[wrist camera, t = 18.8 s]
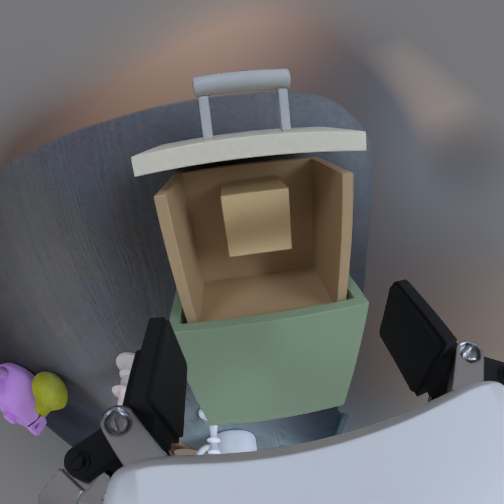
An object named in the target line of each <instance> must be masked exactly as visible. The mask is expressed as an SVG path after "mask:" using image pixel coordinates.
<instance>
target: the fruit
mask: <svg viewBox="0 0 504 504" xmlns="http://www.w3.org/2000/svg"><path fill="white" fill-rule="evenodd" d="M31 386H32V392H33V396H34V398H35V411H36V413H37V414H38V415H39V416H38V418H37V420H38V419H39V418H40V416H41V417H45V416H47V414H48V413H49V412H50V411H53V410H59V409H62V408H64V407H65V405H66V403H67V397H68V395H67V389H66V386H65V384H64V382H63V381H62V379H61V378H60V377H59V376H58V375H56V374H54V373H52V372H40V373H38V374H37V375H36V376H35V377H34V379H33V381H32V385H31ZM37 420H36V421H37ZM36 421H34V422H32V423H31V424H30V425H28V427H30V426H31V425H33V424H34V423H35V422H36Z"/></svg>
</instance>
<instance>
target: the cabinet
mask: <svg viewBox="0 0 504 504" xmlns="http://www.w3.org/2000/svg"><path fill="white" fill-rule="evenodd" d="M368 305H369V302H368V301H367V299H366V298H365V296H364V295H363V293H362V292H361V290H360V289H359V288H358V286H357V285H356V283H355V282H354V281H353V279H352V278H351V276H350V275H349V277H348V287H347V296H346V300H343V301H338V302H333V303H327V304H322V305H317V306H311V307H305V308H299V309H293V310H287V311H281V312H275V313H268V314H261V315H254V316H247V317H239V318H231V319H223V320H215V321H206V322H196V323H187V320H186V317H185V313H184V310H183V307H182V304H181V301H180V297H179V294H178V291H177V288H176V292H175V297H174V301H173V305H172V310H171V314H170V319H169V321H170V323H171V325H172V328H173V330H174V333H175V335H176V338H177V340H178V343H179V345H180V348H181V350H182V353H183V355H184V357H185V360H186V362H187V368H188V370H187V381H188V383H189V385H190V387H191V389H192V392H193V394H194V396H195V398H196V400H197V402H198V404H199V406H200V407H201V409H202V411H203V413H204V415H205V417H206V419H207V421H208V423H209V424H210V426H213V425H228V424H239V423H249V422H257V421H265V420H271V419H278V418H284V417H290V416H295V415H300V414H305V413H310V412H315V411H319V410H323V409H328V408H332V407H336V406H339V405H343V404H344V402H345V399H346V396H347V392H348V389H349V385H350V382H351V379H352V375H353V372H354V368H355V364H356V360H357V356H358V352H359V348H360V344H361V340H362V335H363V330H364V326H365V321H366V316H367V311H368Z"/></svg>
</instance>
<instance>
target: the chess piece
mask: <svg viewBox="0 0 504 504" xmlns="http://www.w3.org/2000/svg"><path fill="white" fill-rule="evenodd" d="M199 416H200V418H202V419H203V420H206V421H207V419H206V417H205V415H204V413H203V411H202V409H199ZM207 422H208V421H207ZM209 429H210V436H211V437H210V438H208V439H207V441H208V442H209V443H211V444H210V446H209V449H208V454H220V453H221V451H220V449H219V447H218V444H217V443H219V442H220V439H219V438H217V429H218V425H213V426H210V424H209Z"/></svg>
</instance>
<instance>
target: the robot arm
mask: <svg viewBox="0 0 504 504" xmlns="http://www.w3.org/2000/svg"><path fill="white" fill-rule="evenodd" d="M380 336H381V338H382V340H383V342H384V344H385V345H386V347H387V349H388V350H389V352H390V354H391V356H392V357H393V359H394V361H395V363H396V364H397V366H398V368H399V370H400V371H401V373H402V375H403V377H404V379H405V381H406V382H407V384H408V386H409V388H410V390H411V391H413V392H415V394H416V395H417V396H419V395H422V394H424V393H426V392H428V394H429V398H428V402H427V403H425V404H423V405H421V406H418V407H416V408H414V409H412V410H409V411H407V412H405V413H402V414H399V415H397V416H394V417H392V418H389V419H386V420H384V421H381V422H378V423H375V424H372V425H369V426H366V427H363V428H360V429H357V430H354V431H350V432H347V433H343V434H339V435H336V436H332V437H328V438H324V439H320V440H315V441H311V442H306V443H301V444H296V445H291V446H285V447H279V448H272V449H265V450H257V451H248V452H238V453H226V454H209V455H184V456H183V455H182V456H173V455H172V453H171V452H170V451H169V450H170V449H171V443H179V437H182V436H183V429H184V411H185V396H186V382H187V370H188V368H187V362H186V360H185V357H184V355H183V353H182V350H181V348H180V345H179V343H178V340H177V338H176V335H175V333H174V330H173V328H172V325H171V323H170V321H169V320H167V321H166V319H165V318H164V317H160V318H151V319H150V320H149V323H148V327H147V330H146V334H145V338H144V341H143V345H142V349H141V350H138V351H137V352H136V353H135V356H134V360H133V363H132V367H131V371H130V375H129V379H128V383H127V387H126V391H125V396H124V400H123V404H122V405H117V406H113V407H111V408H109V409H108V410H106V411H105V412H104V414H103V415H102V418H101V429H99V430H98V431H96V432H95V433H93V434H92V435H90V436H89V437H88V438H86V439H85V440H83V441H82V442H80V443H79V444H77V445H76V446H74V447H73V448H71V449H70V450H69V451H68V452H67V453H66V455H65V458H64V466H65V467H64V469H63V470H62V469H59V470H58V471H57V473H56V474H55V475H54V476H53V478H52V479H51V480H50V482H49V483H48V484H47V485H46V487H45V488H44V489H43V490H42V492H41V493H40V495H39V497H38V503H39V504H100V503H101V502H102V501H103V499H102V497H103V496H104V494H105V493H106V494H105V500H104V504H504V362H500V361H497V360H494V359H490V358H487V357H484V354H483V350H482V348H481V347H480V346H479V345H478V344H477V343H476V342H474V341H471V340H464V341H461V342H460V343H459V344H457V343H456V340H457V339H456V338H455V336H454V335H453V334H452V332H451V331H450V330H449V329H448V328H447V326H446V325H445V324H444V322H443V321H442V320H441V319H440V317H439V316H438V315H437V314H436V313H435V311H434V310H433V309H432V308H431V307H430V306H429V304H428V303H427V302H426V301H425V300H424V299H423V297H422V296H421V295H420V294H419V293H418V292H417V291H416V290H415V288H414V287H413V286H412V285H411V284H410V283H409V282H408V281H407V280H401V281H397V282H394V283H393V285H392V286H391V287H390V290H389V294H388V299H387V303H386V307H385V311H384V316H383V319H382V323H381V327H380Z"/></svg>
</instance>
